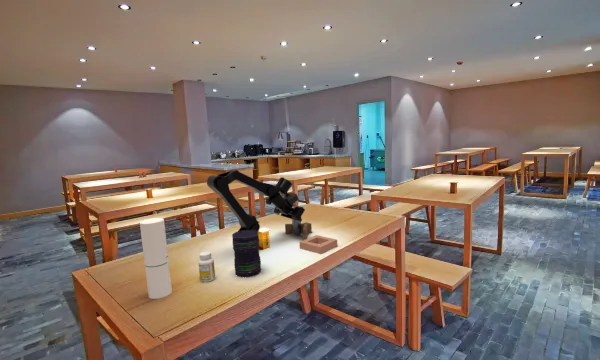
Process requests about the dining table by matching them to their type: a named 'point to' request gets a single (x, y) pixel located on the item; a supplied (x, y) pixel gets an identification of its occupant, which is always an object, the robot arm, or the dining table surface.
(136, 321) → the dining table surface
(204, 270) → the supplement bottle
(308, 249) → the sleeve block
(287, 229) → the v block
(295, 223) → the steel axle
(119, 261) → the dining table surface
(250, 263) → the storage jar
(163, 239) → the cylindrical container
